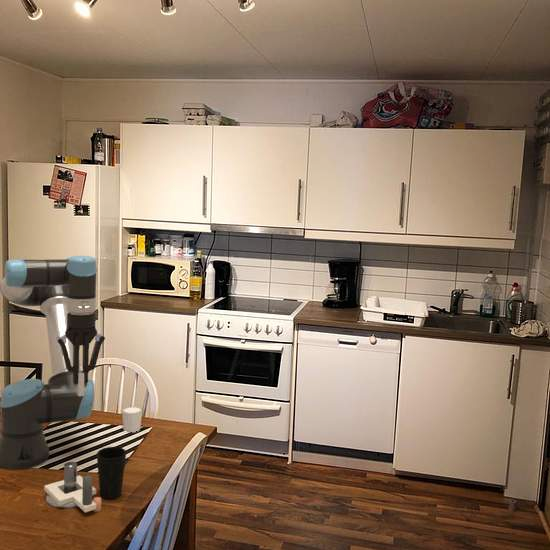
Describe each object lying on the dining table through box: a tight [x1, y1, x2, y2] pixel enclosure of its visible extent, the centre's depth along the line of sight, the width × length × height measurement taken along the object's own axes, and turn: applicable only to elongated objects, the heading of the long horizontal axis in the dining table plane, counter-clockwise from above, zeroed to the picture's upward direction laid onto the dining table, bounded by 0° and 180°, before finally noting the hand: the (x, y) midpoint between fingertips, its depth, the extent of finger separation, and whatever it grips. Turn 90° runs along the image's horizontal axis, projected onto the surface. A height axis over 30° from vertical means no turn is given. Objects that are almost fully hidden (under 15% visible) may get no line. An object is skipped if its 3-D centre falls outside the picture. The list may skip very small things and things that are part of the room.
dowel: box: [92, 496, 102, 513], centre depth 155 cm, size 2×2×3 cm
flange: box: [43, 474, 97, 513], centre depth 158 cm, size 17×10×8 cm, turn 43°
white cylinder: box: [121, 406, 143, 433], centre depth 207 cm, size 7×7×7 cm
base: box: [45, 461, 94, 509], centre depth 160 cm, size 12×12×9 cm
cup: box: [96, 446, 127, 501], centre depth 162 cm, size 8×8×12 cm
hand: (80, 394), depth 169 cm, fingers closed
